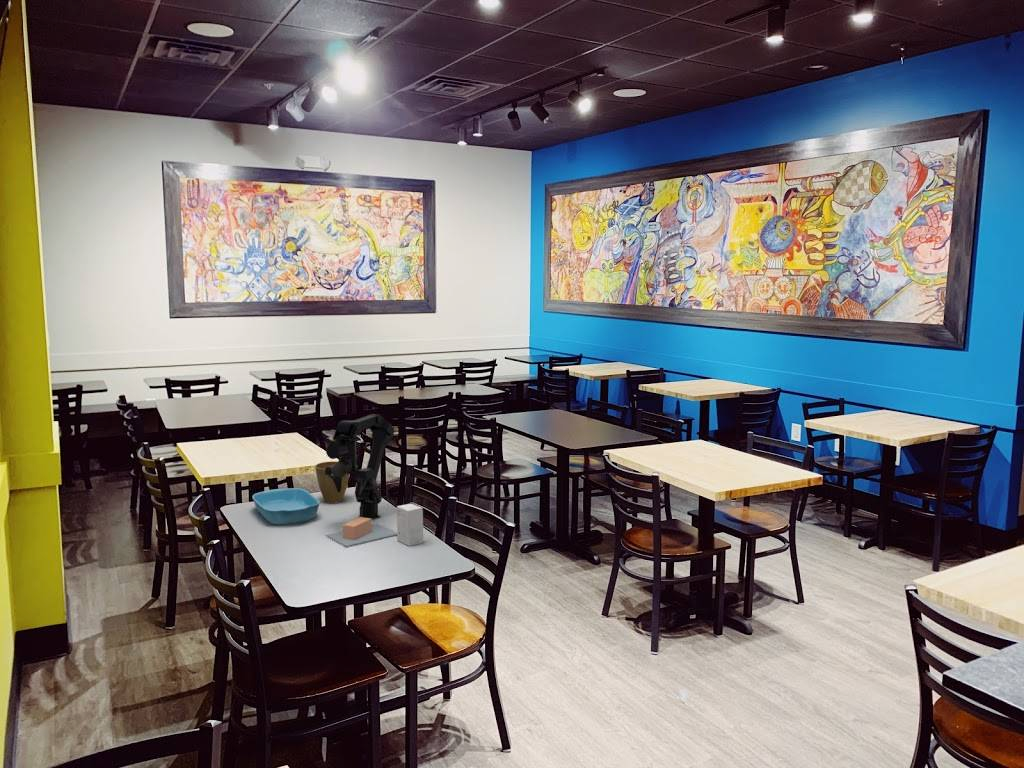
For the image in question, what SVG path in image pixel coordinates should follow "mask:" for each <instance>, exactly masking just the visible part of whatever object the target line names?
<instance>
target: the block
mask: <svg viewBox="0 0 1024 768" xmlns="http://www.w3.org/2000/svg"><path fill="white" fill-rule="evenodd" d="M371 525H372V519H371V518H364V517H359V516H358V517H357V518H355V519H353V520H350V521H348V522H346V523H344V524H342V531H343V538H344V539H351V540H356V539H358V538H360V537H362V536H364V535H366V534H368V533H370V532H372V527H371Z"/></svg>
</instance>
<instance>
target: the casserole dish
mask: <svg viewBox="0 0 1024 768" xmlns="http://www.w3.org/2000/svg"><path fill="white" fill-rule="evenodd" d="M251 498H252V501H253V502H254V503H253V504H254V507H255V509H256V510H257V511H258V513H260V515H261V516H262V517H263V518H264V519H265V520H267V521H268V522H269V523H271V524H272V525H276V524H278V526H279V525H280V524H282V525H289V523H290V524H294V523H301V522H302V523H303V522H307V521H310V520H313V519H314V518H315V516H316V515H317V513H318V509H319V506H320V503H321V502H320V500H319V499H318V498H317V497H316V496H314V495H313V494H312V493H310V492H309V491H308V490H306V489H304V488H298V487H293V488H292V487H291V488H275V489H267V490H264V491H260V492H257V493H256V492H255V493H254V494H253V495H252V497H251Z"/></svg>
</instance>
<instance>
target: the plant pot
mask: <svg viewBox="0 0 1024 768" xmlns="http://www.w3.org/2000/svg"><path fill="white" fill-rule="evenodd" d="M338 461H339V460H338ZM338 461H336V460H335V461H333V460H332V461H323V462H319V463H317V464H315V466H314V467H315V473H316V478H317V483H318V487H319V491H320V493H321V496H322V499H323V500H324V502H325V503H326V502H329V503H328V504H336V503H335V502H339V503H341V502H340V501H342V502H343V500H344V496H345V494H346V491H347V487H348V484H349V479H350V474H345V476H344V477H342V483H341V492H339V493H338V491H337V488H336V486H335V483H334V481H333V479H331V478H330V477H328V475H325V468H326V467H328V466H331V465H335V464H336V463H338Z"/></svg>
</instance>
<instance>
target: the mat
mask: <svg viewBox="0 0 1024 768" xmlns="http://www.w3.org/2000/svg"><path fill="white" fill-rule="evenodd" d="M371 527H372V532H370V533H368V534H366V535H364V536H362V537H360V538H358V539H356V540H351V539H344V538H343V530H342V531H336V532H332V533H329V534H325V536H327V537H328V538H327V537H326V538H327V539H329V538H330V540H331V539H332V540H331V541H333V540H334V541H333V542H335V541H336V542H335V543H337V542H338V543H337V544H339V543H340V544H339V545H341V544H342V545H344V546H346V547H347V548H349V547H348V546H351V547H354V546H353V545H355V546H359V545H362V544H368V543H371V541H372V542H375V541H380V540H383V539H384V538H385V539H388V538H392V537H397V536H396V535H397V531H395V530H393V529H390V528H388V527H387V526H383V524H382V525H381V524H379V523H374V524H372V523H371ZM325 536H324V537H325ZM367 542H368V543H367ZM358 544H359V545H358ZM342 545H341V546H342ZM344 546H343V547H344ZM346 547H345V548H346Z"/></svg>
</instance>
